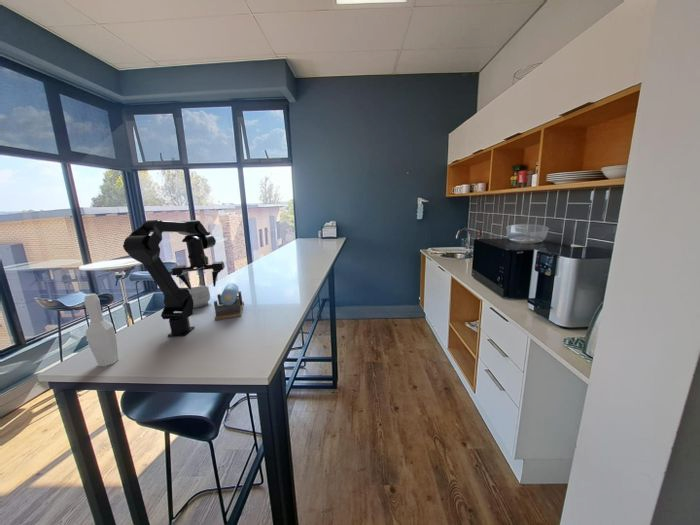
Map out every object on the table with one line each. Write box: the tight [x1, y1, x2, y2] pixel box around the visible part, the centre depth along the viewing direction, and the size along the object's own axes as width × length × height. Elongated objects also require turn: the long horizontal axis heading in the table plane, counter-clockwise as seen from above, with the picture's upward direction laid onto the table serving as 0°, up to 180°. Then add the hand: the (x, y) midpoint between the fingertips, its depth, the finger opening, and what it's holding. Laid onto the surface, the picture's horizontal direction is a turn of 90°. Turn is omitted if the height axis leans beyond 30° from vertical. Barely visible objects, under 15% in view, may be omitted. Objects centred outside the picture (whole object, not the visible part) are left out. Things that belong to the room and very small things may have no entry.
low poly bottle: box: [83, 293, 119, 367], centre depth 82 cm, size 6×6×22 cm
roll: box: [220, 282, 240, 305], centre depth 118 cm, size 12×6×6 cm, turn 17°
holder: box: [213, 290, 245, 321], centre depth 119 cm, size 16×10×7 cm, turn 17°
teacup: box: [187, 284, 211, 309], centre depth 130 cm, size 14×11×8 cm
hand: (202, 287), depth 115 cm, fingers open, 9 cm apart
